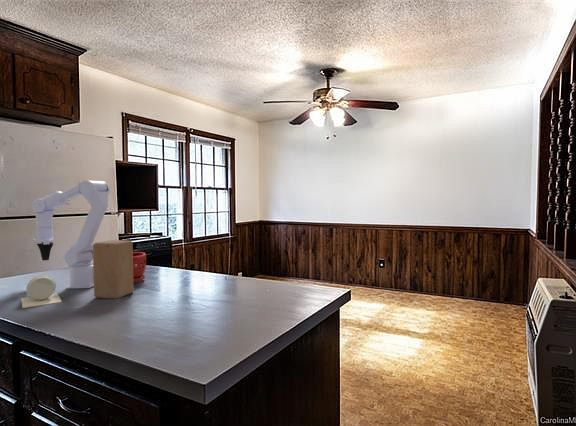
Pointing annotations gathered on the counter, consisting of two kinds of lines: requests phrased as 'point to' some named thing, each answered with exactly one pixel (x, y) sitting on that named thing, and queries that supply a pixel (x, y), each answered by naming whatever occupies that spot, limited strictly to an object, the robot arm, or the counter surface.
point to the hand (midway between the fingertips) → (45, 260)
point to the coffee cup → (41, 287)
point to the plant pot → (138, 266)
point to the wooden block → (113, 268)
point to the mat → (40, 301)
